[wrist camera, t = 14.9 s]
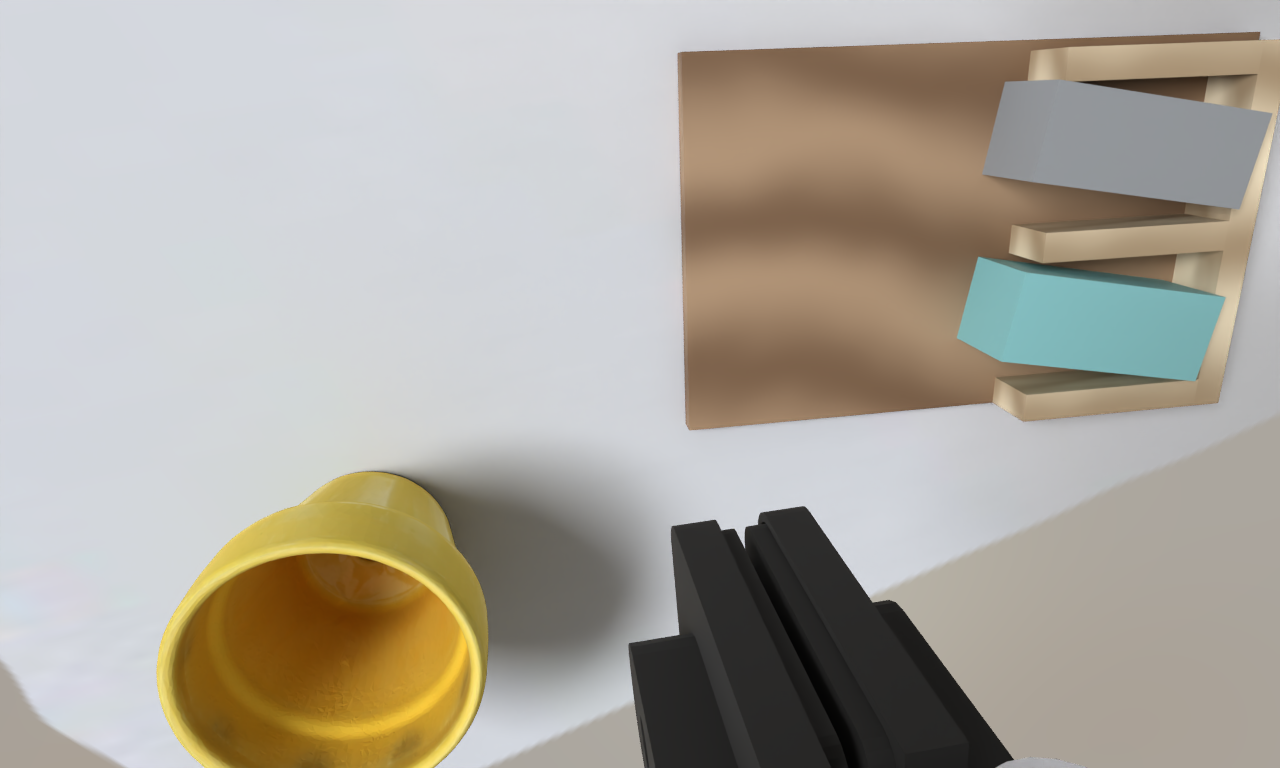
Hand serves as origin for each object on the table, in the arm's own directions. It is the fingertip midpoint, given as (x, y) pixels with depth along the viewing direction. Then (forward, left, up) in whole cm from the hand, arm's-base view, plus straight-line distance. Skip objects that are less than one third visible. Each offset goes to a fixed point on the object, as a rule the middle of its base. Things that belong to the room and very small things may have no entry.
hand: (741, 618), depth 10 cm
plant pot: (+11, -10, -25) cm, 29 cm away
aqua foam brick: (+3, +21, -24) cm, 32 cm away
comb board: (0, +16, -25) cm, 29 cm away
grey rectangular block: (-4, +21, -24) cm, 32 cm away
